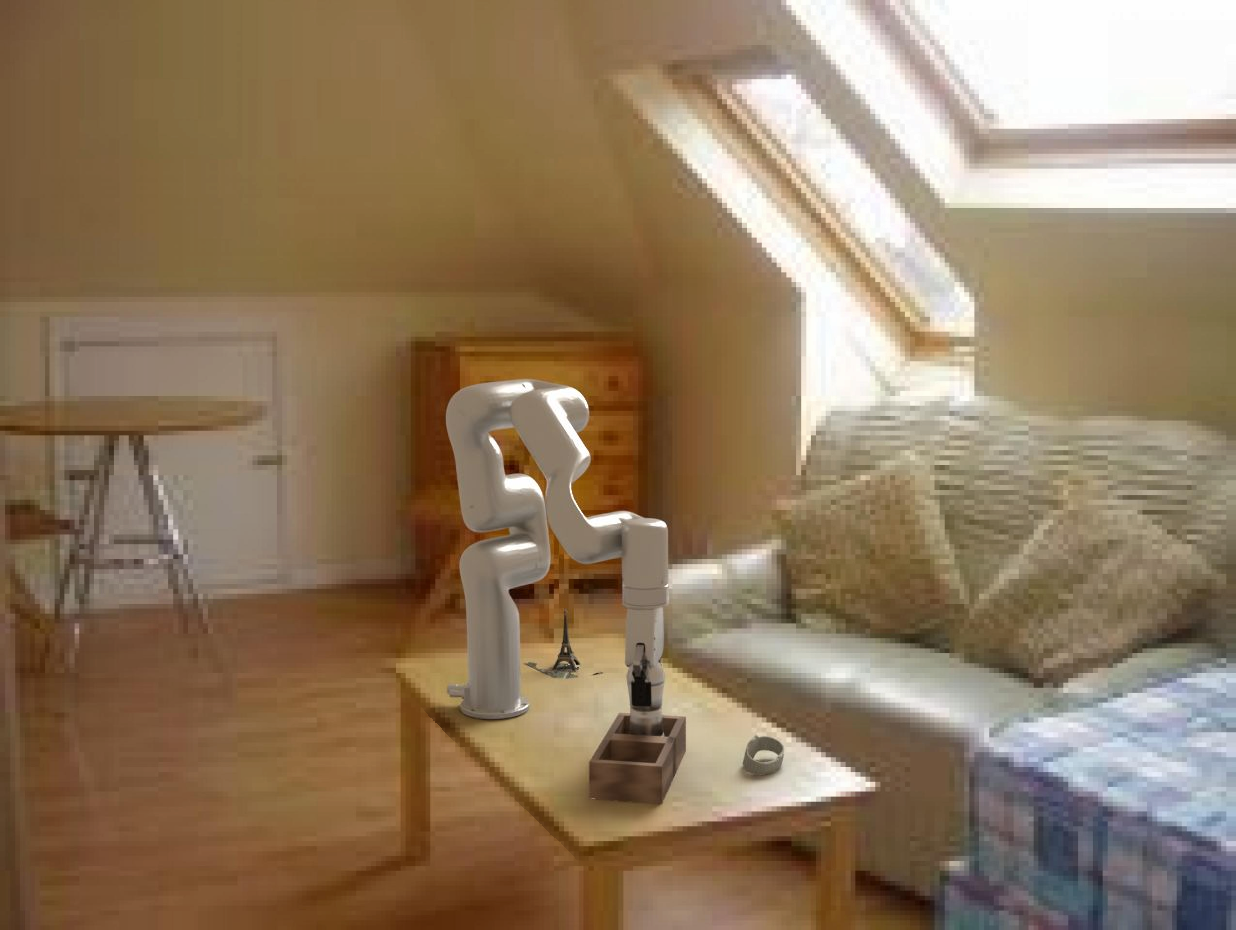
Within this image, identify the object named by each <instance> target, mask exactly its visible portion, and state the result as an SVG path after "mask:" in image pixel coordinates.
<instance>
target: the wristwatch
mask: <svg viewBox="0 0 1236 930" xmlns="http://www.w3.org/2000/svg"><path fill="white" fill-rule="evenodd" d="M761 751H768V752H772V753H775V754H776V755H777V757H776V758H774V759H772V760H770V761H764V762H762V761H758V760H755V759H754V758H755V756H756V755H757V754H758V752H761ZM784 752H785V747H784V744H783V743H782V742H781V741H780V740H778V739H777V738H774V737H772V736H767V735H762V736H759V735H757V734H756V735H754V736H753V737H752V738H751V739H750V740H749V742H747V744H746V748H745V751H744V756H743V760H742V765H743V766H742V767H743V769H744V770H745V771H746V772H747V773H749V774H752V775H754V776H764V775H769V774H770V775H771V774H773V773H774V772H776V771H777V770H779V769H780V768H781V767H782V765H783V760H784V756H785V753H784Z"/></svg>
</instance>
